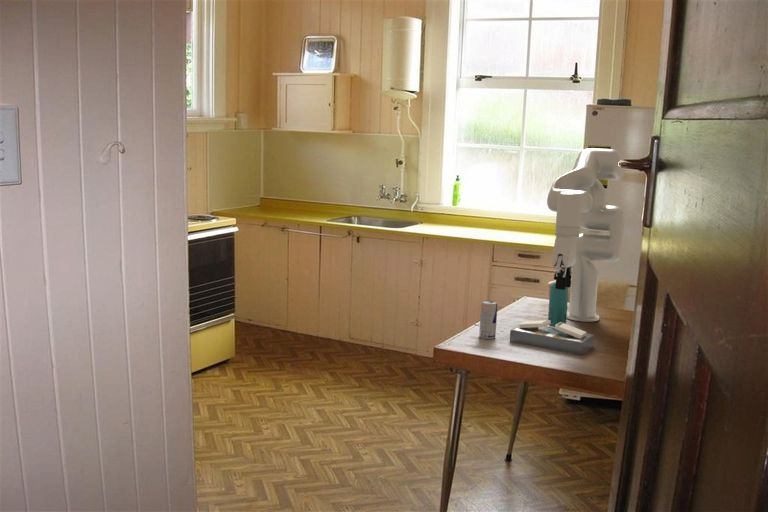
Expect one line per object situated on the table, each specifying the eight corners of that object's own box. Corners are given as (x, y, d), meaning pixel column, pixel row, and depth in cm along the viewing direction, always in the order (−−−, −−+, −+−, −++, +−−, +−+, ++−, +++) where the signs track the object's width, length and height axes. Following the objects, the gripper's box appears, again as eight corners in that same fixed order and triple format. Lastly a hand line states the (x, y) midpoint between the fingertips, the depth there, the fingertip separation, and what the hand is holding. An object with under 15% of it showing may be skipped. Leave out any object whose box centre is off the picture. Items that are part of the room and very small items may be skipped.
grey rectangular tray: (523, 333, 269) (524, 319, 268) (592, 346, 257) (594, 331, 256) (509, 341, 259) (510, 327, 258) (581, 355, 247) (582, 340, 246)
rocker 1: (525, 324, 265) (524, 321, 265) (550, 323, 260) (550, 320, 260) (519, 327, 260) (519, 324, 260) (545, 326, 256) (544, 323, 256)
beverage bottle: (566, 332, 273) (570, 275, 269) (546, 330, 274) (550, 274, 271) (565, 327, 279) (570, 272, 276) (546, 326, 280) (550, 270, 277)
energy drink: (497, 336, 264) (500, 301, 262) (491, 340, 260) (493, 304, 258) (483, 334, 267) (485, 299, 265) (476, 337, 262) (478, 302, 260)
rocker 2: (559, 325, 258) (560, 321, 258) (585, 335, 254) (586, 331, 254) (554, 328, 254) (555, 324, 254) (580, 338, 250) (581, 335, 250)
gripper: (564, 227, 259) (560, 282, 262) (546, 232, 245) (542, 290, 248) (587, 229, 255) (582, 285, 259) (570, 235, 241) (565, 294, 244)
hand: (563, 287), depth 253 cm, fingers open, 4 cm apart
